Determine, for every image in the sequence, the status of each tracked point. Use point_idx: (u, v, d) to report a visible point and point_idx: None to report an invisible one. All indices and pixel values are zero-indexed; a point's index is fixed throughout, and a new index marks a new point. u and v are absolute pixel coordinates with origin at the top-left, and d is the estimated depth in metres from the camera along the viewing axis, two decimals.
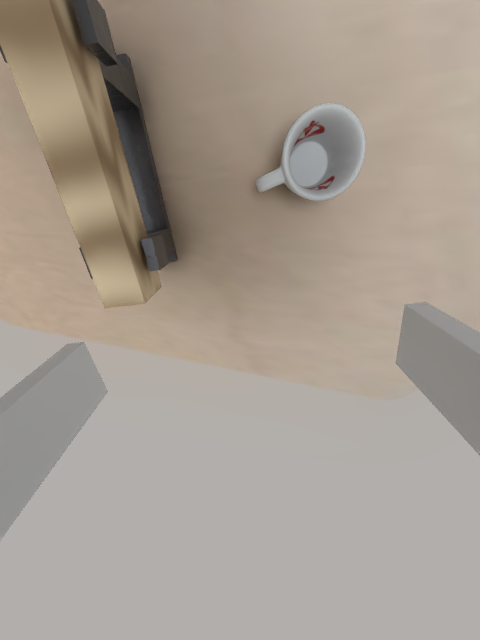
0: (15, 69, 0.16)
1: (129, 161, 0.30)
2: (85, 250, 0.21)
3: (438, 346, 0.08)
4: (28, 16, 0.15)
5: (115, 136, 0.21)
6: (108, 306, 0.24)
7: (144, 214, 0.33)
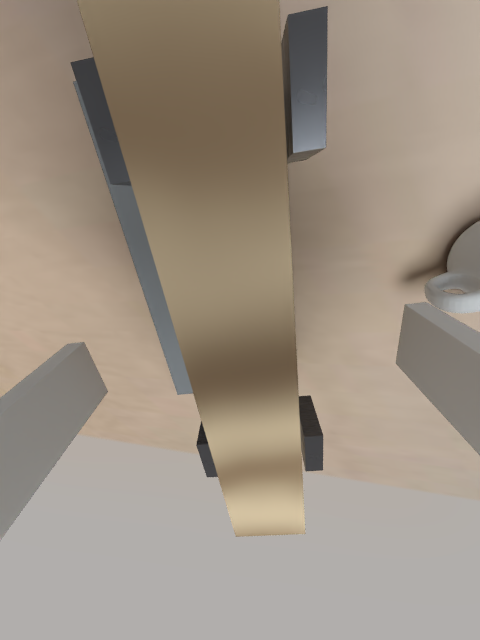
0: (157, 227, 0.07)
1: None
2: (227, 481, 0.12)
3: (438, 346, 0.08)
4: (214, 116, 0.06)
5: None
6: (242, 535, 0.14)
7: None
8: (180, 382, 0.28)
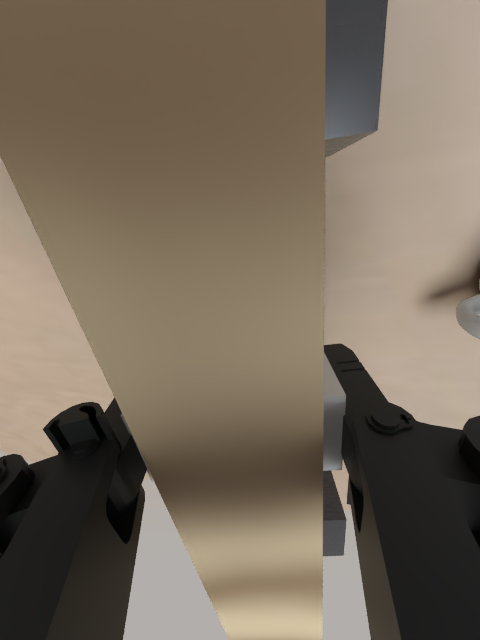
0: (78, 271, 0.04)
1: None
2: (217, 594, 0.09)
3: None
4: (173, 47, 0.03)
5: None
6: None
7: None
8: None
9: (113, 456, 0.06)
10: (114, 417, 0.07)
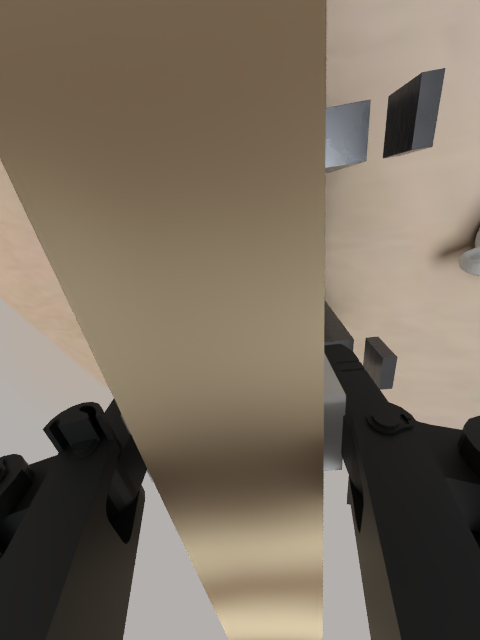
0: (78, 274, 0.04)
1: None
2: (218, 595, 0.09)
3: None
4: (174, 51, 0.03)
5: None
6: None
7: None
8: None
9: (113, 456, 0.06)
10: (114, 417, 0.07)
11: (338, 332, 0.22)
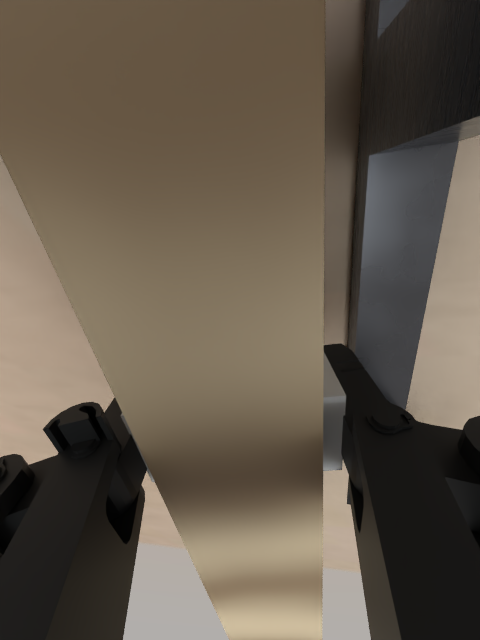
0: (80, 275, 0.04)
1: (366, 285, 0.11)
2: (218, 594, 0.09)
3: None
4: (175, 55, 0.03)
5: None
6: None
7: None
8: None
9: (113, 456, 0.06)
10: (114, 417, 0.07)
11: None
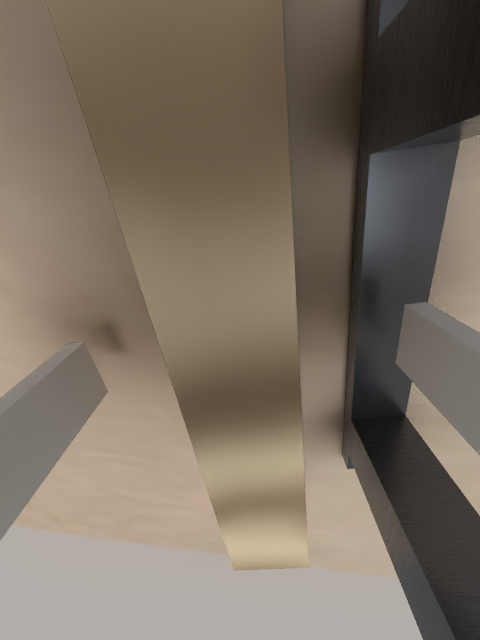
0: (141, 247, 0.06)
1: (367, 285, 0.11)
2: (223, 514, 0.11)
3: (438, 346, 0.08)
4: (206, 122, 0.05)
5: None
6: (241, 568, 0.13)
7: (360, 392, 0.13)
8: None
9: None
10: None
11: None
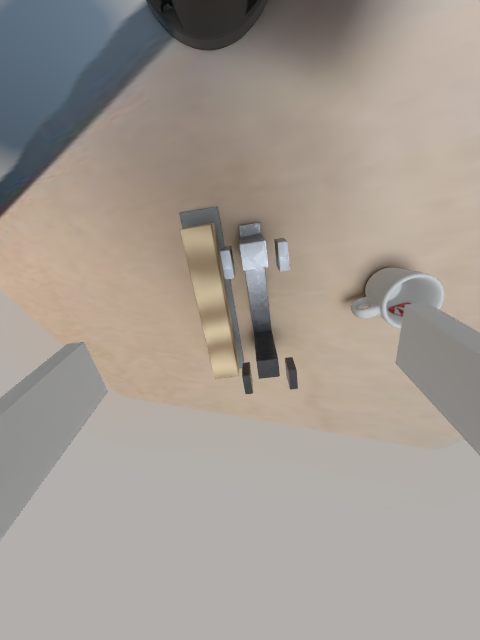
0: (194, 280, 0.35)
1: (249, 287, 0.40)
2: (210, 351, 0.40)
3: (438, 346, 0.08)
4: (205, 263, 0.34)
5: (225, 290, 0.40)
6: (217, 378, 0.42)
7: (254, 321, 0.42)
8: None
9: None
10: None
11: (270, 354, 0.36)
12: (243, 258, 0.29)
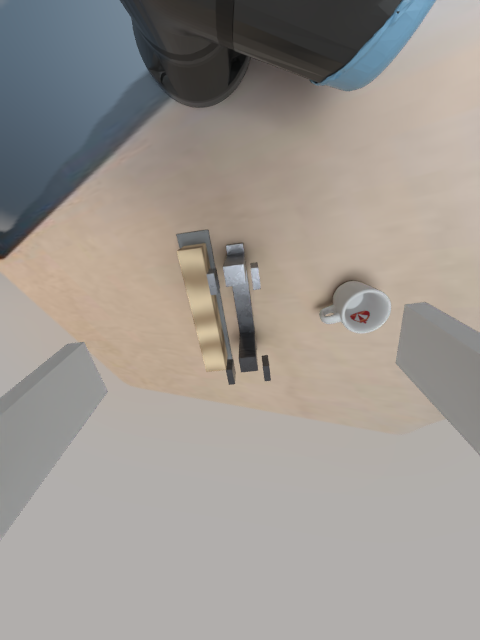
0: (188, 291, 0.42)
1: (235, 295, 0.47)
2: (202, 349, 0.48)
3: (438, 346, 0.08)
4: (197, 278, 0.41)
5: (215, 298, 0.47)
6: (208, 371, 0.50)
7: (240, 324, 0.50)
8: None
9: None
10: None
11: (251, 352, 0.44)
12: (226, 277, 0.37)
